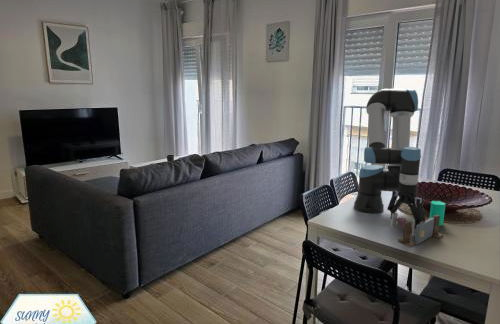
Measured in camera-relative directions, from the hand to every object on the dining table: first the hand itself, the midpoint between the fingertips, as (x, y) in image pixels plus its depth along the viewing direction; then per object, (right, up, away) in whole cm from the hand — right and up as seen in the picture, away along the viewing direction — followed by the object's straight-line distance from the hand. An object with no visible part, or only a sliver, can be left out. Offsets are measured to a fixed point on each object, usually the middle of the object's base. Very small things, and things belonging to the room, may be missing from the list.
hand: (403, 230), depth 150 cm
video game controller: (+1, 0, +1) cm, 1 cm away
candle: (+20, +1, +10) cm, 23 cm away
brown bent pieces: (+4, -2, -6) cm, 8 cm away
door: (+6, -2, -7) cm, 10 cm away
